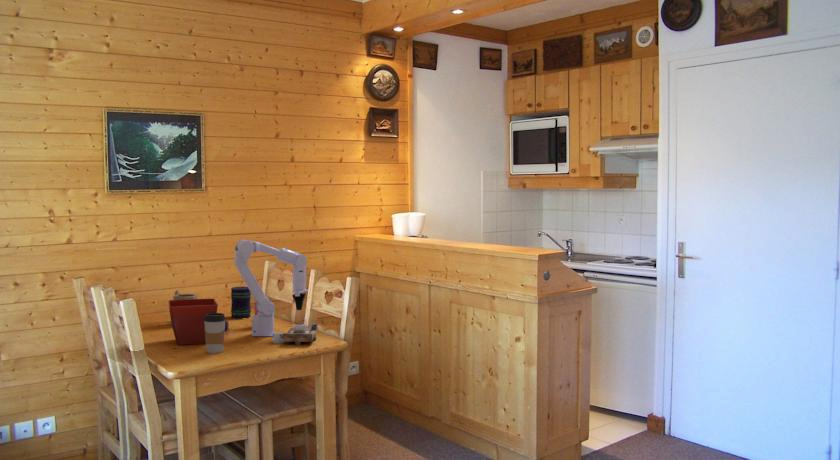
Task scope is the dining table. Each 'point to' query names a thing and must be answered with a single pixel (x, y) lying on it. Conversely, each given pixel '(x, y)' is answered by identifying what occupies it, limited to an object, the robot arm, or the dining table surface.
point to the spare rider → (278, 337)
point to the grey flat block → (301, 335)
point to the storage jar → (240, 302)
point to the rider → (299, 328)
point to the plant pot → (190, 319)
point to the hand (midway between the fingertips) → (299, 309)
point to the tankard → (183, 297)
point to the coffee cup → (214, 332)
